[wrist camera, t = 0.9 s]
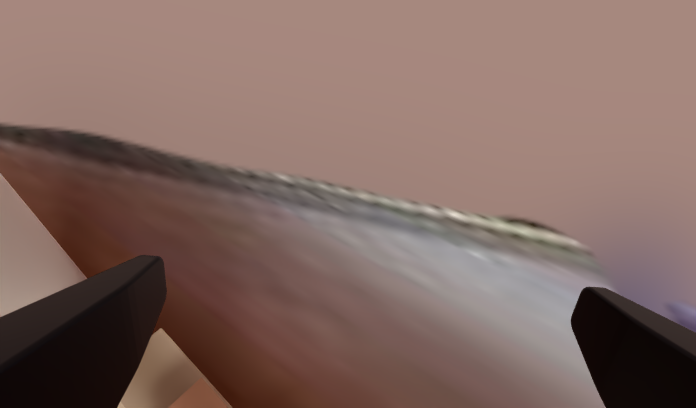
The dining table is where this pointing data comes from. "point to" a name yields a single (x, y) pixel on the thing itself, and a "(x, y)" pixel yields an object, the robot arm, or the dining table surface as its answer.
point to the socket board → (169, 380)
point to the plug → (29, 256)
